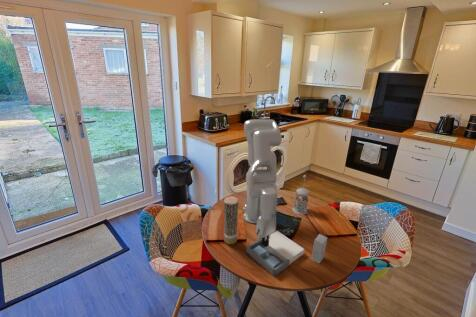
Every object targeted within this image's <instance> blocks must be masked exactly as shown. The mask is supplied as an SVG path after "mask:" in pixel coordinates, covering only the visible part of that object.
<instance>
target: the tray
mask: <svg viewBox="0 0 476 317" xmlns="http://www.w3.org/2000/svg"><path fill="white" fill-rule="evenodd" d="M257 246H261V247H262V248H263V249H265V250H266V255H265V256H264V257H261V256H260V255H258V254H257V253H256V252H255V251H254V250H252V249H254V248H256V247H257ZM245 248H246V249H245V250H246V254H248V255H249V256H250V257H251V258H252V259H253V260H254V261H256V262H257V263H258V264H259V265H260V266H261V267H262V268H263V269H265V270H266V271H267V272H268V273H269V274H270V275H272V276H273V277H276V276H277V275H279V274H280V273H281V272H283V271H284V270H285V269H287V268H288V267H289V266H290V264H289V261H290V260H289V259H287V260H286V261H283V260H282V259H280V258H279V257H278V256H277V255H275V254H274V253H273V252H271V251H270V250H269V249H268V248H266V247H265V246H264V245H262V239H261V240H259V239H257V240H255V241H254V242H252V243H251V244H248V245H247V246H246V247H245ZM270 253H271V254H272V255H273V257H275V258H276V259H277V260H278V261H279V262H280V265H279V266H277V267H276V268H274V267H273V266H271V265H270V264H269V263H268V262H267V261H265V260H266V259H268V258H269V257H271V256H272V255H271V254H270ZM270 255H271V256H270Z"/></svg>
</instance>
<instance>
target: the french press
mask: <svg viewBox="0 0 476 317" xmlns="http://www.w3.org/2000/svg"><path fill="white" fill-rule="evenodd" d="M302 177H303V178H304V180H303V182H305V181H306V180H305V179H306V178H307V175H305V174H304V175H303V176H302ZM309 194H310V190H308V189H306V188H305V185H303V187H300V188H297V189H296V192H295V193H292V195H291V197H290V199H291V203H293V207H292V211H293V212H294V213H295V214H297V215H306V214H308V213H309V210H308V204H309V198H308V195H309ZM294 196H295V200H294V201H293V197H294ZM307 210H308V211H307ZM307 212H308V213H307Z"/></svg>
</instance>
